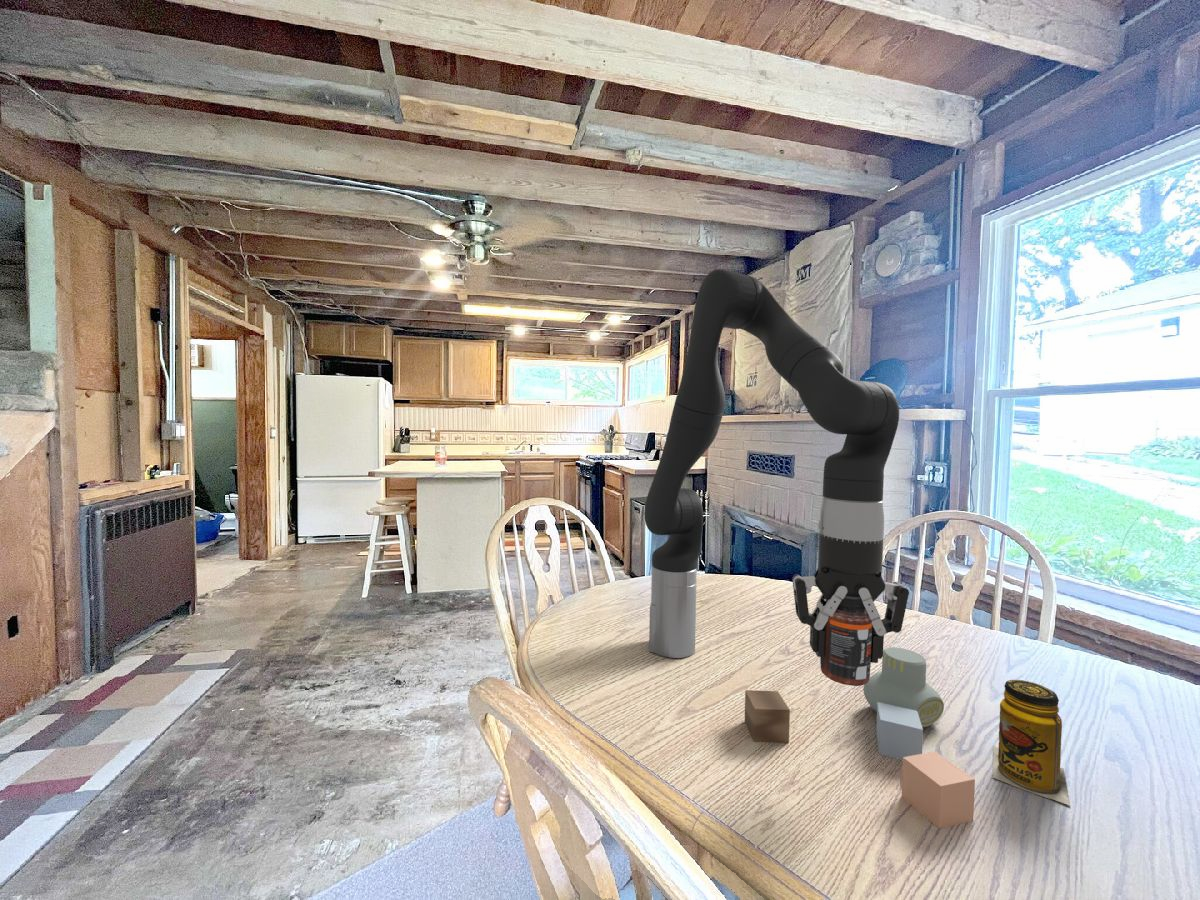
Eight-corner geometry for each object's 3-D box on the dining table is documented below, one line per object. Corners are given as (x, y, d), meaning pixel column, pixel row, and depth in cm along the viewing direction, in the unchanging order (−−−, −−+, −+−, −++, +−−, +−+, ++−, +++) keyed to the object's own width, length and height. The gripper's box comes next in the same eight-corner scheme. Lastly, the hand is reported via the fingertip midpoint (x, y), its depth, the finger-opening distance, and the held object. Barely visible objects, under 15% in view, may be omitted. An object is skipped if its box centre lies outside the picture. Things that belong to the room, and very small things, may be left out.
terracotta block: (939, 829, 54) (940, 786, 54) (901, 796, 59) (902, 757, 59) (973, 821, 56) (975, 779, 55) (933, 790, 60) (935, 751, 60)
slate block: (879, 754, 67) (880, 719, 67) (876, 734, 71) (877, 701, 71) (921, 765, 65) (923, 729, 65) (915, 744, 69) (917, 710, 69)
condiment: (992, 779, 62) (996, 689, 62) (993, 747, 69) (997, 665, 68) (1070, 808, 58) (1075, 710, 57) (1063, 771, 64) (1067, 683, 64)
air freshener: (904, 740, 70) (907, 673, 70) (854, 709, 78) (856, 649, 77) (950, 723, 75) (953, 660, 74) (899, 696, 82) (901, 639, 82)
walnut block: (754, 742, 69) (754, 708, 69) (744, 721, 74) (745, 690, 74) (788, 743, 69) (789, 709, 69) (776, 722, 74) (777, 691, 74)
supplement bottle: (877, 691, 60) (880, 602, 60) (826, 685, 61) (829, 598, 61) (861, 668, 66) (864, 587, 66) (815, 663, 67) (818, 584, 67)
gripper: (798, 535, 61) (794, 664, 61) (924, 542, 58) (918, 678, 59) (787, 524, 68) (783, 639, 69) (898, 530, 65) (893, 650, 66)
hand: (845, 656), depth 64 cm, fingers closed on supplement bottle, 6 cm apart
